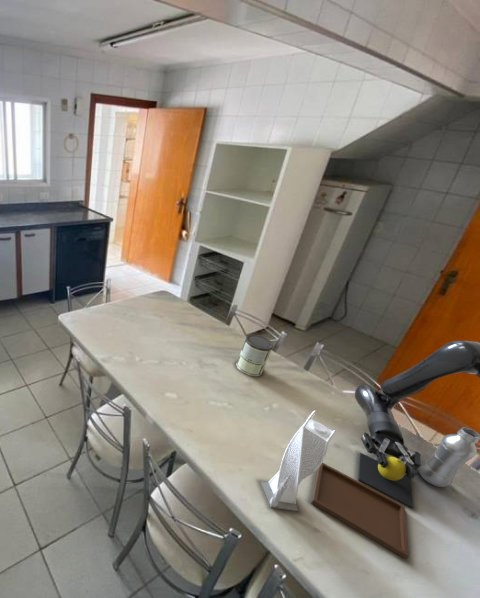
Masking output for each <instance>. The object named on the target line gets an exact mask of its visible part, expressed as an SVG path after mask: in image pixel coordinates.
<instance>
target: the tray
mask: <svg viewBox="0 0 480 598" xmlns="http://www.w3.org/2000/svg"><path fill="white" fill-rule="evenodd" d="M311 496H312V497H311V505H313V506H315V507H317V508H318V509H320V510H322V511H324V512H325V513H327V514H329V515H330V516H332V517H334V518H335V519H337V520H338V521H340V522H342V523H344V524H345V525H347V526H348V527H350V528H352V529H354V530H356V531H357V532H359V533H360V534H362V535H364V536H366V537H367V538H369V539H370V540H372V541H374V542H376V543H377V544H379V545H381V546H382V547H384V548H386V549H387V550H389V551H391V552H392V553H394V554H396V555H398V556H399V557H401V558H403V559H404V560H406V559H408V558H409V556H410V554H409V543H408V542H409V541H408V529H407V518H406V505H404V504H402V503H401V502H399V501H397V500H395V499H393V498H391V497H389V496H387V495H385V494H383V493H381V492H380V491H378V490H376V489H374V488H372V487H370V486H368V485H366V484H364V483H362V482H361V481H359V480H356V479H355V478H353V477H351V476H349V475H347V474H345V473H343V472H341V471H340V470H337V469H335V468H334V467H331V466H330V465H328V464H326V463H324V462H322V464H321V466H320V467H319V468H318V469H317V470H316V476H315V481H314V486H313V491H312V495H311Z"/></svg>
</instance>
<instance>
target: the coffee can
mask: <svg viewBox="0 0 480 598" xmlns="http://www.w3.org/2000/svg"><path fill="white" fill-rule="evenodd" d="M273 348H274V343H273V342H272V341H271V340H270V339H269V338H268V337H265V336H262V335H259V334H254V333H253V334H251V333H250V334H246V336H245V338H244V342H243V345H242V348H241V351H240V354H239V356H238V359H237V362H236V363H235V364H236V368H237V369H238V371H240V372H241V373H243V374H245V375H248V376H250V377H259V376H262V374H263V371H264V369H265V366H266V364H267V361H268V359H269V357H270V356H271V352H272V350H273Z"/></svg>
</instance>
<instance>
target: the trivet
mask: <svg viewBox="0 0 480 598" xmlns="http://www.w3.org/2000/svg"><path fill="white" fill-rule="evenodd" d="M378 464H379V463H378V460H377V459H375V458H372V457H371V456H369V455H366V454H364V453H362V452H360V453H359V460H358V478H357V481H358V482H360V483H362V484H364V485H366V486H368V487H370V488H372V489H373V490H375V491H377V492H379V493H381V494H383V495H385V496H387V497H389V498H390V499H392V500H394V501H396V502H398V503H400V504H402V505H404V506H405V507H408V508H410V509H413V508H414V504H413V494H412V484H411V479H410V478H408V477H407V476H406V474H405V475H404V476H403V478H402V479H400V480H397V481H392V480H388V479H386V478H384V477H383V476H382V475H381V474H380V472H379V470H378Z"/></svg>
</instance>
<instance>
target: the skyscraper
mask: <svg viewBox="0 0 480 598" xmlns="http://www.w3.org/2000/svg"><path fill="white" fill-rule="evenodd" d="M316 413H317V410H313V411H312V412H311V413H310V414H309V416H308V418H306V420H305V421H304V423H303V424H302V425H301V426H300V428H299V429H298V430H297V431H296V432H295V434H294V435H293V437H292V438H291V439H290V441H289V442H288V444H287V446H286V449H285V451H284V453H283V456H282V459H281V463H280V466H279V469H278V471H277V473H275V474H274V475H273V476H272V477H271V478H270V480H268V482H267V481H260V484H261V487H262V489H263V492H264V494H265V496H266V499H267V501H268V504H269V507H270V508H272V509H279V510H285V511H293V512H299V509H298V506H297V497H298V491H299V486H300V484H301V482H302V481H303V480H305V479H306V478H308V477H310V476H311V475H313V474H314V473H315V472H317V469H318V468H319V467H320V466H321V464H322V463H324V460H325V458H326V455H327V452H328V448H329V443H330V441H331V440H332V438H333V437H334V436H335V434H336V433H337V431H336V429H333V430H332V429H330V428H329V427H327V426H325V425H324V424H322V423H321V422H318V421H317V420H315V419H314V416H315V414H316Z"/></svg>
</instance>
